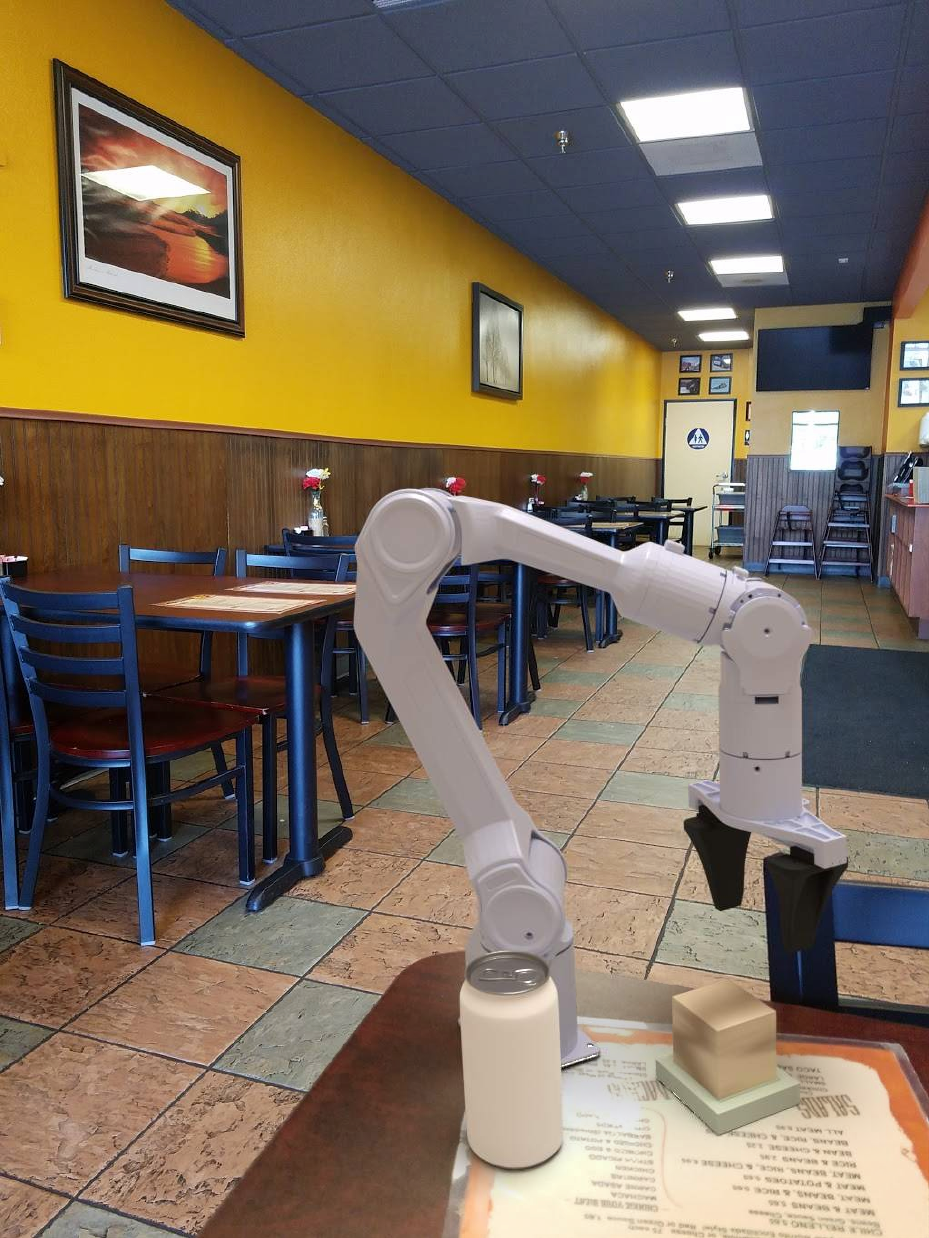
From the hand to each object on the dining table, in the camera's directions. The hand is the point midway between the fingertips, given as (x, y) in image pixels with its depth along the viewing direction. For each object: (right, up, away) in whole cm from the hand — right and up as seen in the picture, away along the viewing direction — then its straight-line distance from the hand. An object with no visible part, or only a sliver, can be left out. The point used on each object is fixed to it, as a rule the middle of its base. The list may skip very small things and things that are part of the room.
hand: (761, 926), depth 71 cm
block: (-4, -9, -3) cm, 10 cm away
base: (-3, -11, -3) cm, 12 cm away
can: (-19, -12, -7) cm, 23 cm away
